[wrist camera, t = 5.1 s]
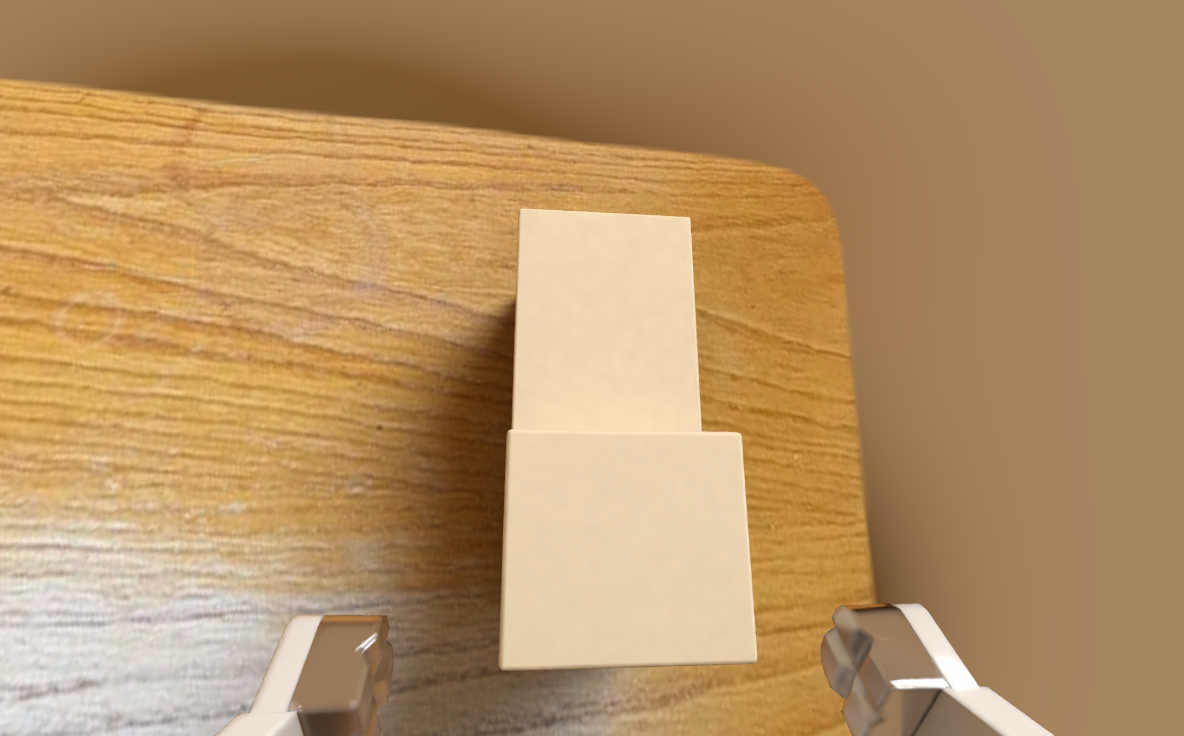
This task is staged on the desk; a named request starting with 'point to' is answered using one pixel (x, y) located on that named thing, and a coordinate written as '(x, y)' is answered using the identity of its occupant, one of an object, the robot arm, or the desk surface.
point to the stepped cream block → (617, 459)
